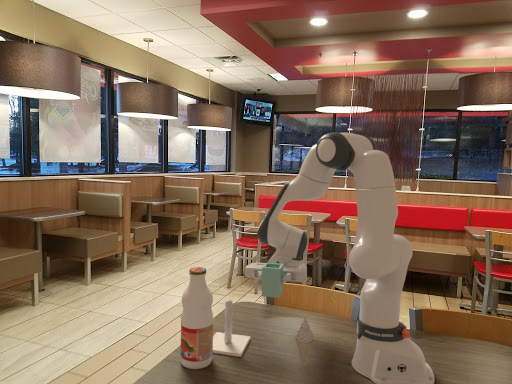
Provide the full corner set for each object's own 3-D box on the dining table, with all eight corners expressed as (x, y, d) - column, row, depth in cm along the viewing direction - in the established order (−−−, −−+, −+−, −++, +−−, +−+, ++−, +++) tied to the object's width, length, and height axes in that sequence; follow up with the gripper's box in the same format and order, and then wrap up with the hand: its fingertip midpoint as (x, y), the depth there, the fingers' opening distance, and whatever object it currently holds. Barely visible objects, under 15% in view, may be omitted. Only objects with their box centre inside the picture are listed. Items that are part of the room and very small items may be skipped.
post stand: (250, 339, 126) (251, 295, 125) (240, 356, 115) (242, 308, 114) (216, 334, 129) (217, 291, 128) (203, 351, 117) (204, 304, 116)
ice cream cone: (311, 371, 108) (313, 320, 106) (293, 369, 109) (295, 318, 107) (312, 362, 113) (314, 313, 111) (295, 360, 114) (297, 312, 112)
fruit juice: (213, 369, 108) (214, 273, 106) (179, 371, 106) (180, 274, 104) (211, 352, 117) (213, 264, 115) (181, 354, 116) (181, 264, 113)
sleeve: (282, 291, 119) (283, 264, 119) (279, 298, 114) (280, 268, 113) (265, 290, 121) (265, 262, 120) (261, 296, 115) (262, 267, 115)
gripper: (250, 256, 132) (239, 266, 118) (309, 260, 127) (305, 271, 114) (250, 274, 132) (239, 286, 119) (308, 278, 128) (304, 291, 114)
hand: (272, 279), depth 116 cm, fingers closed on sleeve, 6 cm apart
